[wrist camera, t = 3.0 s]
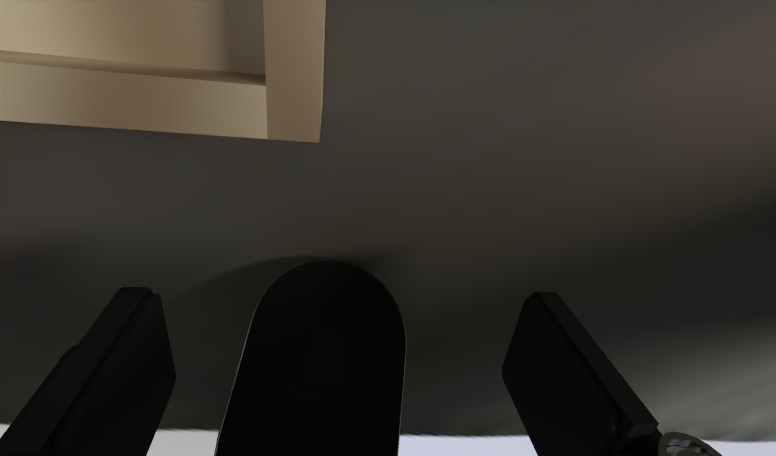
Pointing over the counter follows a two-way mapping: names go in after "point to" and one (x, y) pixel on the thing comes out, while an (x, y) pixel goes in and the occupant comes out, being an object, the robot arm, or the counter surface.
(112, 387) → the robot arm
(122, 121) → the beech platter
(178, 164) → the counter surface
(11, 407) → the counter surface
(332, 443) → the stand
